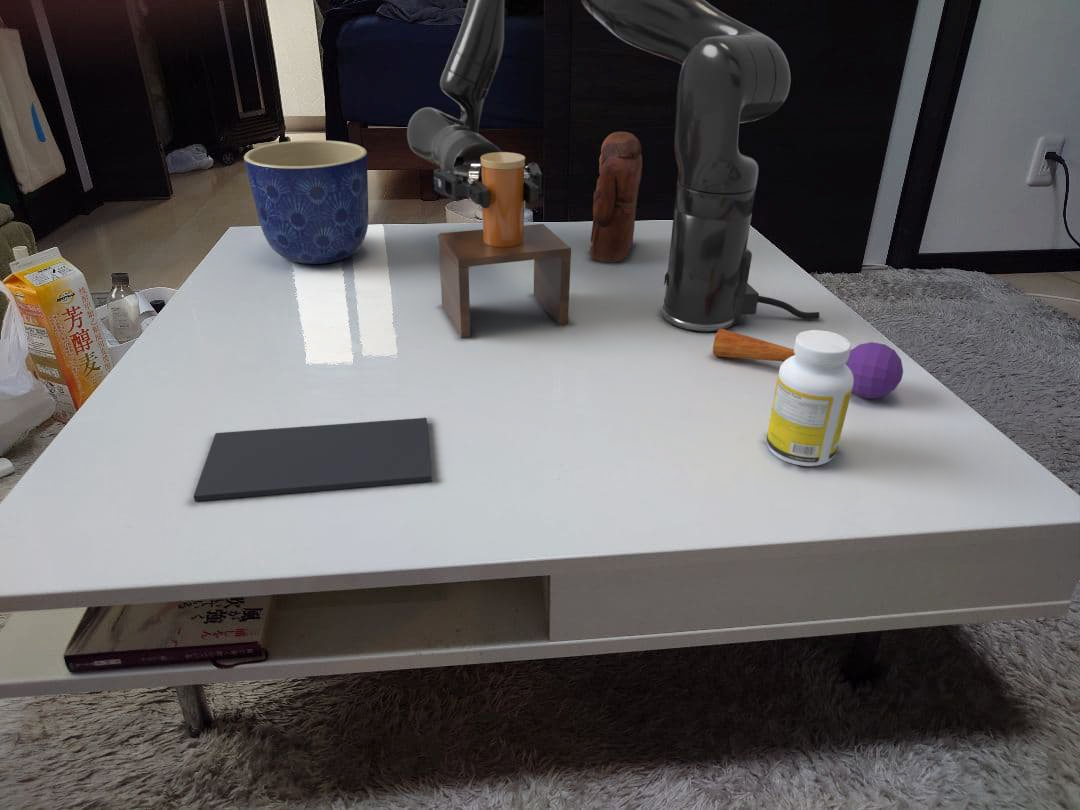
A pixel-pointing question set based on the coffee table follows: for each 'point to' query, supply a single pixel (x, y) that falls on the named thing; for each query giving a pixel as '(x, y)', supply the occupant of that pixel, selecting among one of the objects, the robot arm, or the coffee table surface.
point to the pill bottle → (811, 399)
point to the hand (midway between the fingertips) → (510, 197)
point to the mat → (315, 459)
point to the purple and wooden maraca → (868, 363)
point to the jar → (503, 198)
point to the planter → (311, 198)
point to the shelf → (472, 251)
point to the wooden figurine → (616, 197)
